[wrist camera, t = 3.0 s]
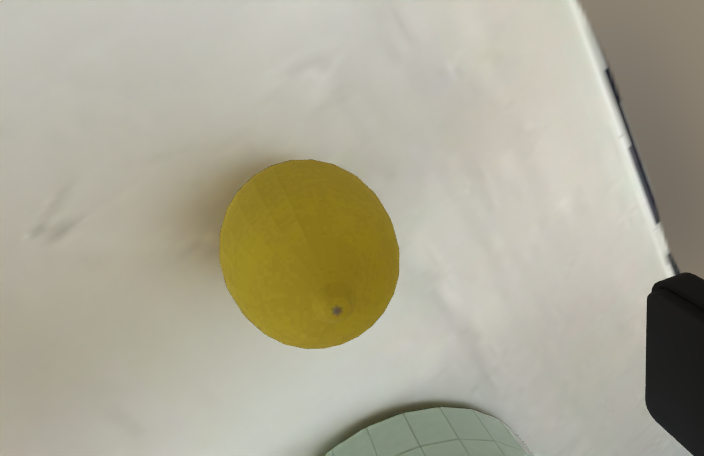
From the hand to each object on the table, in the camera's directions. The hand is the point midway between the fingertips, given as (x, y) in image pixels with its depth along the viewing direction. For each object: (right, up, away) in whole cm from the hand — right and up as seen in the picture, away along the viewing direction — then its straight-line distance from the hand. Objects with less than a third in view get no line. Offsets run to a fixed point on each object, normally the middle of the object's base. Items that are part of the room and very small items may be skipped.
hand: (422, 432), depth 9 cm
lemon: (-4, +4, +12) cm, 13 cm away
